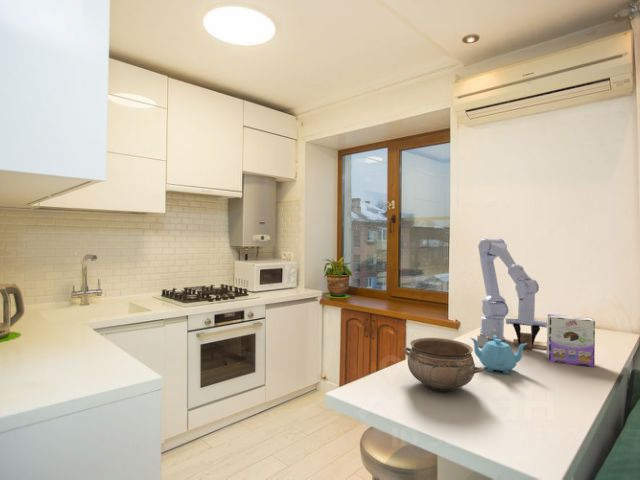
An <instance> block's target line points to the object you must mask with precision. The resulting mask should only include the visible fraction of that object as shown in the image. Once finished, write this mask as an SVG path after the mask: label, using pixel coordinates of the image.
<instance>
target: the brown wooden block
mask: <svg viewBox="0 0 640 480" xmlns="http://www.w3.org/2000/svg"><path fill="white" fill-rule="evenodd" d="M525 343H527V344H526V345H525V346H524V347H523V350H525V351H526V350H527V351H532V349H533V348H532V334H531V332H529V333H528V332H521V331H520V343H519V346H520V345H521V344H525Z"/></svg>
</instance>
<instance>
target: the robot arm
mask: <svg viewBox="0 0 640 480" xmlns="http://www.w3.org/2000/svg"><path fill="white" fill-rule="evenodd" d="M477 246H478V252H479V253H478V254H479V260H480V266H481V272H482V278H483V282H484V283H483V284H484V288H485V295H486V296H485V297H484V298H483V300H482V301H481V303H482V307H481V310H482V311H481V312H482V314H483V315H484V316H481V317H480V330H479V331H480V333H479V334H481V333H483V334H486V336H489V334H490V333H491V331H492V329H495V330H497V332H496V333H495V335H496V336H497V339H500V340H502V341H506V338H505V333H504V331H505V328H504V327H505V326H504V324H506V325H512V326H513V329H514V331H515V334H516V337H517V338H516V339H518V343H520V332H521V330H522V328H521V326H528V327H530V333H531V334H532V345H533V344H534V341H536V337H537V335H538V333H539V332H540V330H541V328H546V329H547V328H548V321H542V320H540V321H539V320H536V319H535V310H536V309H535V308H536V305H535V304H536V294H538V292H539V288H540V287H539V284H538V281H537V280H535V279H533V278H531V277H530V276H529V275H528V274H527V272H526V271H525V269H524V267H523V265H520V264H516V262H515V260H514V258H513V257H512V255H511V254H510V252H509V250H508V244H506V242H505V241H504V239H502V238H482V239H481V240H480V242H479V243H478V244H477ZM497 258H499V259H500V260H501V262H503V264H504V265H505V266H506V268H507V274H508V275H509V276H510V278H511V279H512V281H513V282H514V284H515V290H516V294H517V298H518V315H517V316H518V317H517V318H508V317H507V318H506V316H507V315H509V311H510V310H509V306H508V304H507V302H506V299H505V298H504V297H503V296H502V295H501V293H500V289H499V285H498V284H499V283H498V279H497V278H498V277H497V273H496V269H495V268H496V267H495V262H494V261H495V259H497ZM491 340H493V338H492V339H491Z"/></svg>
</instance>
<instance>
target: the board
mask: <svg viewBox="0 0 640 480" xmlns="http://www.w3.org/2000/svg"><path fill="white" fill-rule="evenodd" d="M513 345H514V347H517V348H519V343H518V339H517V338H513ZM532 349H537V350H544V351H545V350H546V351H547V342H546V341H536V340H534V344H533V345H532Z"/></svg>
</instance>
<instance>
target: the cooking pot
mask: <svg viewBox="0 0 640 480" xmlns="http://www.w3.org/2000/svg"><path fill="white" fill-rule="evenodd" d="M409 344H410V346H411V348H410V347H404V348H403V349H402V350H403V352H404V354H405V355H406V356H407V367H408V370H409V372H410V373H411V376H413V377H414V378H415V379H416V380H417V381H419V383H421V384H423V385H425V386H426V387H428V388H429V389H431V390H433V391H436V392H440V393H441V392H442V393H443V392H445V393H448V392H451V391H453V390H455V389H459V388H462V387H463V386H466V385H467V384H469V383H470V382H471V381H472V379H473V378H474V376H475V374H479V373H481V372H484V371H485V368H484V367H483V366H480V367H478V366H475V365H476V364H475V360H474V357H473V355H472V352H473V351H474V349H473V347H472V346H470V344H468V343H465V342H461V341H458V340H454V339H450V338H441V337H440V338H439V337H423V338H422V337H421V338H416V339H413V340H411V341H410V343H409Z"/></svg>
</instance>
